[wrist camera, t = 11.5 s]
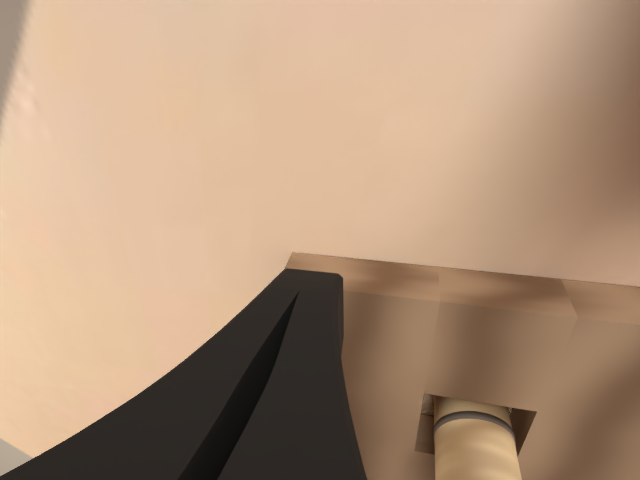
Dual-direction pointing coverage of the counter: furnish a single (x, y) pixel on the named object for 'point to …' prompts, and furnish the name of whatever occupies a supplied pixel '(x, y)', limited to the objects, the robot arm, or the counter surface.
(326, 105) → the counter surface
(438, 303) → the hole board
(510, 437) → the oak peg
